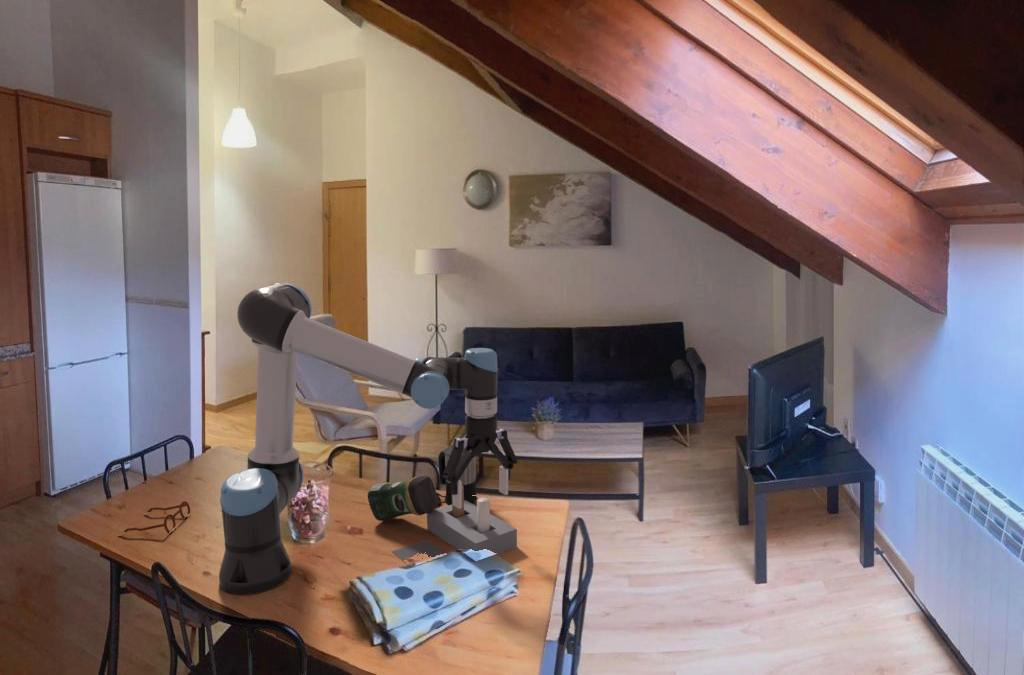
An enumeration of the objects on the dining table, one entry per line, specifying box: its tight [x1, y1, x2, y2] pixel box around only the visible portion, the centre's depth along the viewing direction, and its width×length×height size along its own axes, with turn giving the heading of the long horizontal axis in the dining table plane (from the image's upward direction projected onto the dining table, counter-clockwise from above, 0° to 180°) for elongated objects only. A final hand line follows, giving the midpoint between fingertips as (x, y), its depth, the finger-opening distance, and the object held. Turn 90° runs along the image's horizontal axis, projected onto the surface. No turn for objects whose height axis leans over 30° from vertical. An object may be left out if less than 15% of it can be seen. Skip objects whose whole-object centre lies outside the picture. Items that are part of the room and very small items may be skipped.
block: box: [426, 485, 518, 555], centre depth 169 cm, size 12×22×12 cm, turn 38°
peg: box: [476, 497, 491, 534], centre depth 165 cm, size 3×3×12 cm
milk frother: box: [436, 445, 478, 508], centre depth 191 cm, size 14×16×15 cm
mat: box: [391, 539, 447, 562], centre depth 162 cm, size 10×10×1 cm
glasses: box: [123, 500, 191, 534], centre depth 179 cm, size 13×13×5 cm
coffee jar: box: [367, 475, 439, 522], centre depth 177 cm, size 10×8×19 cm
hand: (480, 499), depth 164 cm, fingers open, 13 cm apart
